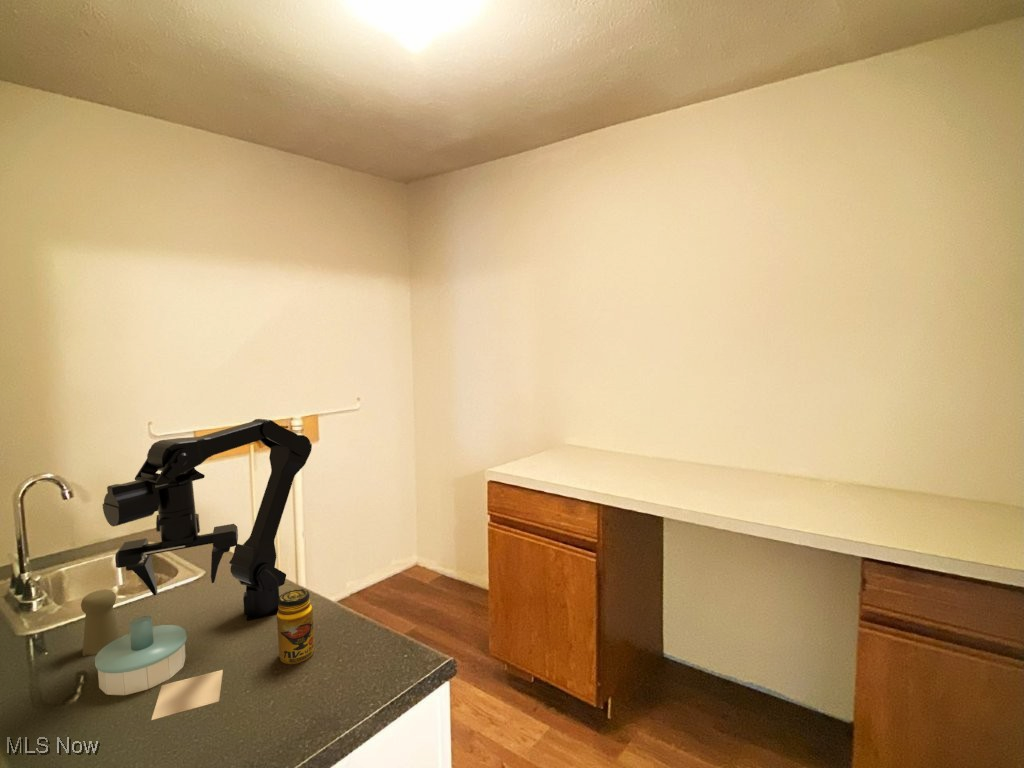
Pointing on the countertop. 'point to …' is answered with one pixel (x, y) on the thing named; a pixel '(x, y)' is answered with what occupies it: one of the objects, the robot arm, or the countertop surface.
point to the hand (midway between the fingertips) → (185, 588)
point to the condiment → (295, 626)
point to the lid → (140, 646)
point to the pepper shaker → (99, 621)
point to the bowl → (141, 676)
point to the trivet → (188, 694)
